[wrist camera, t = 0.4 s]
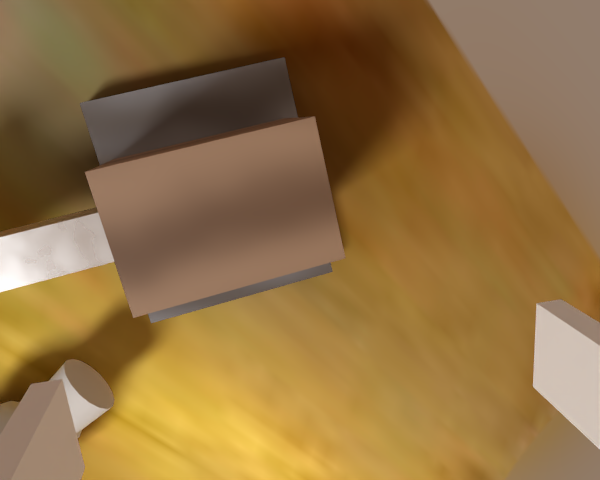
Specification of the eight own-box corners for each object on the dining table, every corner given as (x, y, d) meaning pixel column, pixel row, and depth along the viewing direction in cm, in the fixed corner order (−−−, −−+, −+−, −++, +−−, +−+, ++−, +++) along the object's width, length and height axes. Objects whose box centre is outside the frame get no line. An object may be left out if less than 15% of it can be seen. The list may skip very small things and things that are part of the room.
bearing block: (85, 104, 37) (36, 95, 25) (280, 60, 39) (316, 33, 27) (153, 313, 41) (137, 388, 29) (326, 265, 43) (375, 317, 31)
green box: (-109, 211, 35) (-238, 249, 25) (159, 147, 38) (145, 156, 27) (-62, 320, 37) (-162, 397, 27) (190, 252, 40) (188, 299, 29)
